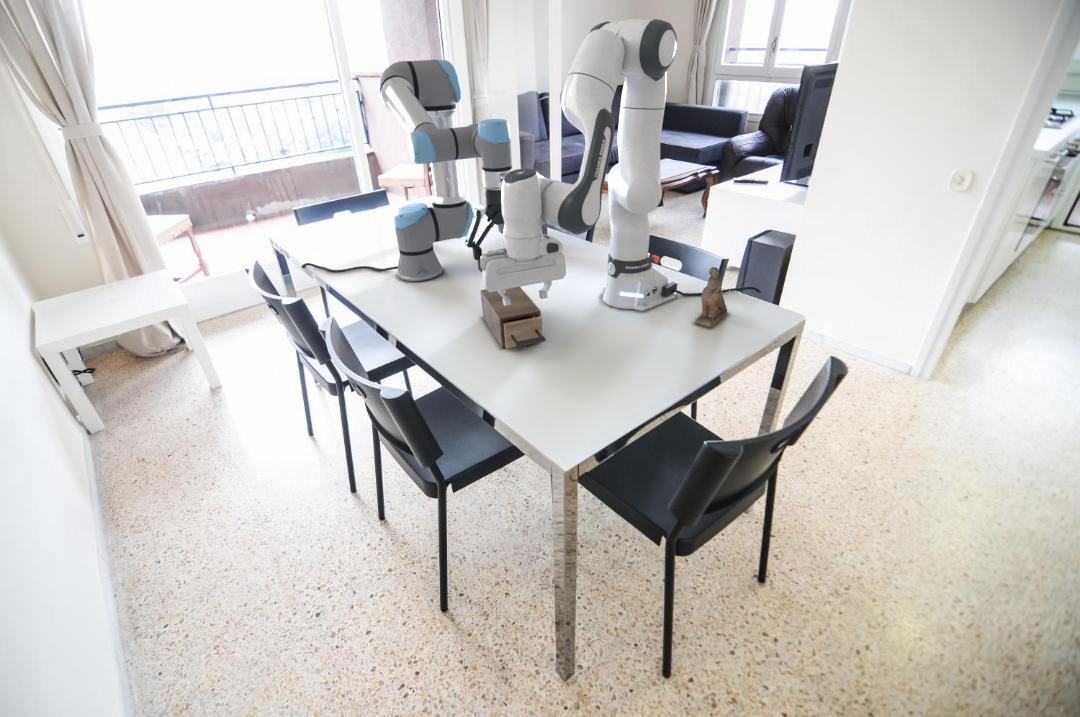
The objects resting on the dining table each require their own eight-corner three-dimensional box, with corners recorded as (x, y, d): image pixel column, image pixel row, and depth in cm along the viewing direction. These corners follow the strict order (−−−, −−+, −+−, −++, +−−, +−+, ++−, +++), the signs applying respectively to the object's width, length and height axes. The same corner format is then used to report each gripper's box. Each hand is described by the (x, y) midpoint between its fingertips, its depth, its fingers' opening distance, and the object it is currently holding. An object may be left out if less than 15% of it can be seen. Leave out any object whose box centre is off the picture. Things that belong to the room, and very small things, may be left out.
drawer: (549, 350, 126) (549, 326, 122) (512, 358, 123) (511, 334, 119) (520, 313, 144) (519, 291, 141) (488, 319, 142) (485, 297, 138)
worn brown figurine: (709, 335, 136) (713, 280, 124) (691, 329, 139) (693, 274, 128) (730, 313, 142) (736, 258, 130) (712, 307, 145) (716, 253, 133)
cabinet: (541, 340, 132) (540, 310, 128) (502, 348, 129) (499, 318, 125) (519, 310, 148) (517, 283, 143) (483, 317, 145) (480, 290, 140)
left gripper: (454, 196, 119) (464, 278, 130) (549, 183, 127) (551, 262, 138) (447, 189, 125) (457, 269, 136) (538, 178, 133) (541, 254, 144)
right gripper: (483, 257, 107) (488, 314, 114) (569, 243, 114) (568, 298, 121) (475, 248, 112) (480, 304, 119) (557, 235, 118) (557, 289, 126)
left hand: (504, 266), depth 137 cm, fingers open, 13 cm apart
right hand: (525, 301), depth 120 cm, fingers open, 8 cm apart
